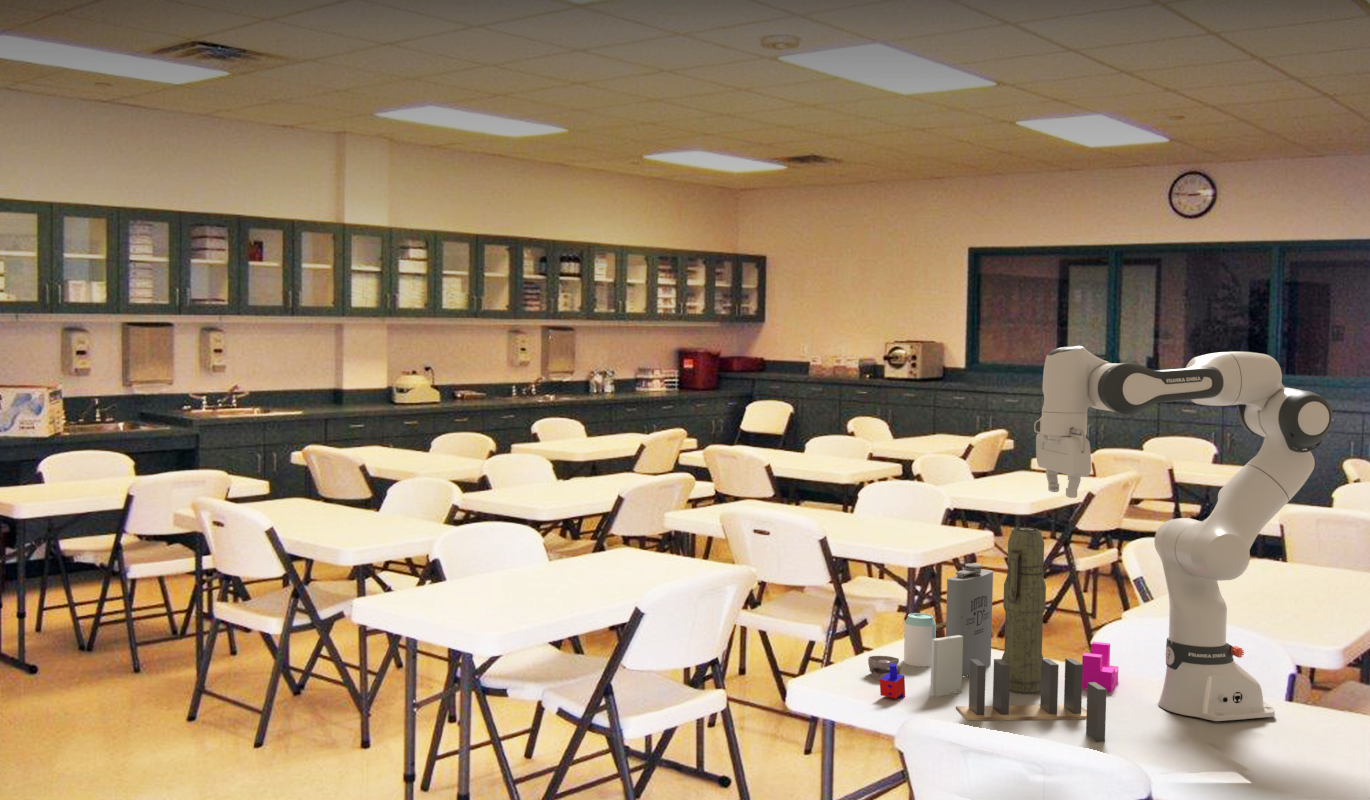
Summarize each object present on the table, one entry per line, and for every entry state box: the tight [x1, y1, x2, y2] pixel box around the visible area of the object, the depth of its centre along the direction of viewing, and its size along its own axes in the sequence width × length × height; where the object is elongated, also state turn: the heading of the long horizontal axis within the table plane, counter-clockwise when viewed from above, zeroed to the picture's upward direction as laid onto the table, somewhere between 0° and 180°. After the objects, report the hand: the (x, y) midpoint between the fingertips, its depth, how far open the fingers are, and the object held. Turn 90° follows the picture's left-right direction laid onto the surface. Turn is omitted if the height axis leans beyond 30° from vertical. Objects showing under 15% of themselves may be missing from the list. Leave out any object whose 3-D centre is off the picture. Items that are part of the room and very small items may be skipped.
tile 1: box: [968, 659, 987, 715], centre depth 261 cm, size 2×5×10 cm, turn 6°
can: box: [903, 612, 937, 668], centre depth 299 cm, size 7×7×12 cm
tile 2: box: [992, 658, 1010, 715], centre depth 262 cm, size 2×5×10 cm, turn 6°
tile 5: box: [1063, 658, 1083, 714], centre depth 263 cm, size 2×5×10 cm, turn 6°
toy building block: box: [879, 664, 906, 699], centre depth 270 cm, size 4×4×8 cm
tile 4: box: [1039, 658, 1059, 714], centre depth 262 cm, size 2×5×10 cm, turn 6°
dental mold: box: [867, 655, 902, 683], centre depth 286 cm, size 8×7×5 cm
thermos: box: [1001, 526, 1047, 696], centre depth 280 cm, size 9×12×35 cm
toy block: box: [1081, 641, 1119, 693], centre depth 288 cm, size 15×6×8 cm, turn 154°
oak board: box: [955, 704, 1087, 721], centre depth 262 cm, size 26×8×1 cm, turn 96°
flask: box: [945, 563, 994, 678], centre depth 293 cm, size 17×5×25 cm, turn 141°
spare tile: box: [1085, 682, 1107, 743], centre depth 247 cm, size 2×5×10 cm, turn 6°
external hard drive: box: [929, 635, 963, 698], centre depth 275 cm, size 2×8×12 cm, turn 123°
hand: (1062, 494), depth 263 cm, fingers open, 8 cm apart
